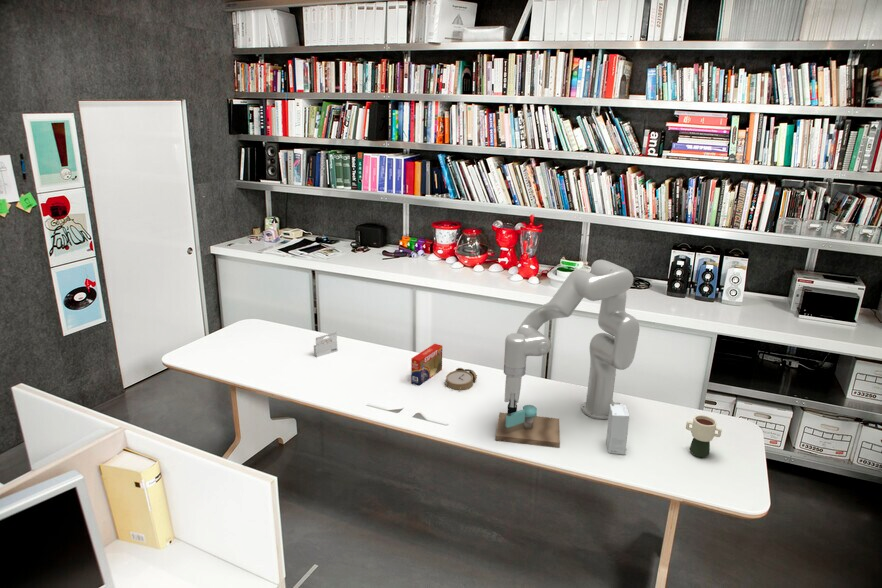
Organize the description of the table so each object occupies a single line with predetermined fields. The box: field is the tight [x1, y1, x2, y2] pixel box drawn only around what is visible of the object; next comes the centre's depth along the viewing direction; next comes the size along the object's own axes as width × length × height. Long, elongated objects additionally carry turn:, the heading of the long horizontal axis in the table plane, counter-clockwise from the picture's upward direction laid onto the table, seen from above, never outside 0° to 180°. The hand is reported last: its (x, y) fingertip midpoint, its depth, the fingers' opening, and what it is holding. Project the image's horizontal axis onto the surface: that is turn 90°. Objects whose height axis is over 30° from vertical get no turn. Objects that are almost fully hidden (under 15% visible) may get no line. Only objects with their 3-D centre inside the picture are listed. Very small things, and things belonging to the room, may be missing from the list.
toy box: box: [410, 343, 443, 387], centre depth 250 cm, size 18×4×12 cm, turn 149°
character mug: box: [685, 414, 723, 458], centre depth 200 cm, size 11×7×13 cm, turn 64°
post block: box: [495, 412, 561, 448], centre depth 212 cm, size 22×16×7 cm
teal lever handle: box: [506, 404, 538, 428], centre depth 209 cm, size 12×5×5 cm, turn 121°
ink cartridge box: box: [313, 331, 339, 358], centre depth 271 cm, size 2×11×10 cm, turn 130°
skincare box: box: [605, 404, 630, 456], centre depth 202 cm, size 8×6×15 cm
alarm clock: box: [444, 367, 478, 392], centre depth 247 cm, size 11×5×15 cm
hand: (511, 415), depth 210 cm, fingers closed
